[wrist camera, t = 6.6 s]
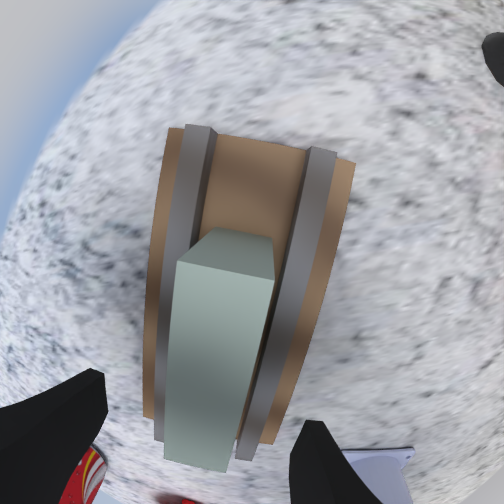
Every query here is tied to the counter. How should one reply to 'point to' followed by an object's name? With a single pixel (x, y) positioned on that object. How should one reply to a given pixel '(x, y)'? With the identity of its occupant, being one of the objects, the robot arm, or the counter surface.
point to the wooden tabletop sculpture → (495, 55)
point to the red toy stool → (187, 501)
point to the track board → (255, 222)
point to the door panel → (214, 343)
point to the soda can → (85, 479)
